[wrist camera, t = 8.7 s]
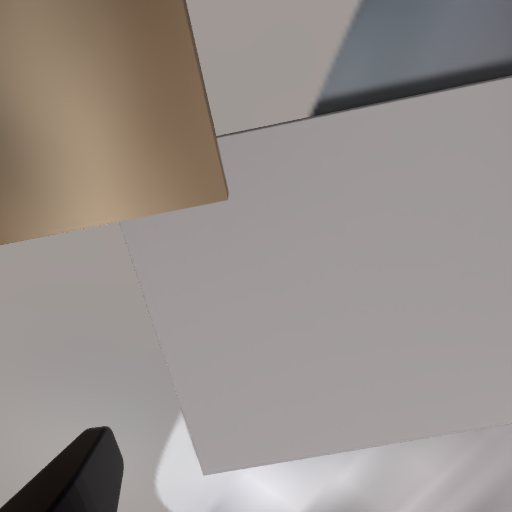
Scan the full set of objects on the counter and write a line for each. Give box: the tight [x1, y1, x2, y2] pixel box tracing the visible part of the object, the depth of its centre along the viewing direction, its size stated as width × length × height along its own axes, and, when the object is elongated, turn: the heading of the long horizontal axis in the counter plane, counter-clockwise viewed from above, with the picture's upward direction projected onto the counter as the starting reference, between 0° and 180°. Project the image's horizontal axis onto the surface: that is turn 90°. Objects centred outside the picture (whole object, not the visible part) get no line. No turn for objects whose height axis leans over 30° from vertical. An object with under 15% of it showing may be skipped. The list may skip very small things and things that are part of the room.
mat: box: [119, 75, 512, 475], centre depth 20 cm, size 17×17×1 cm
